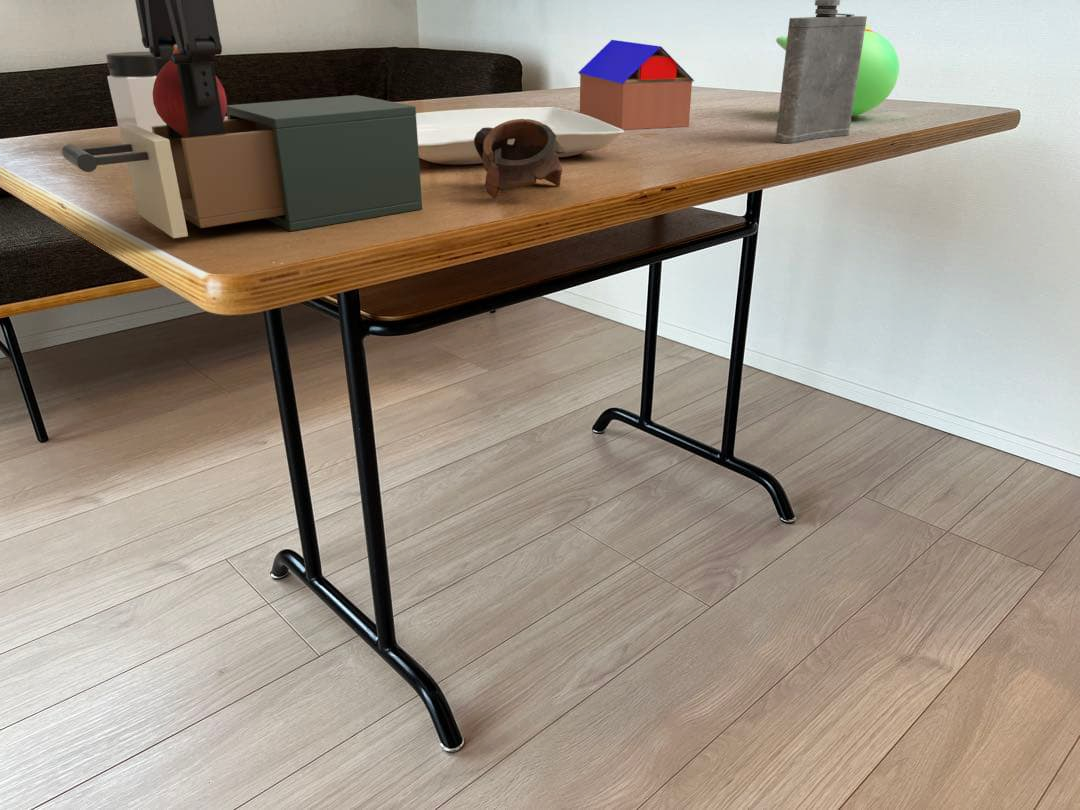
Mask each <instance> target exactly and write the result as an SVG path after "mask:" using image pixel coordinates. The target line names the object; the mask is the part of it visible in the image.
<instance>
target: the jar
mask: <svg viewBox="0 0 1080 810" xmlns="http://www.w3.org/2000/svg"><path fill="white" fill-rule="evenodd" d="M154 59H157V57H152V55H151V53H150V51H125V52H112V53H111V52H110V53H107V54H106V61H107V62H106V65H107V68H108V70H109V75H107V83H108V87H109V91H110V96H111V100H112V101H111V102H112V104H113V109H114V110H113V111H114V113H115V118H116V123H117V127H118V132H119V137H120V141H121V145H122V144H123V142H122V138H121V133H120V129H119V126H121V125H135V126H137V127H140V128H142V129H145V130H147V131H149V132H152V126H161V125H166V123H165V122H164V121H163V120H162V119H161V117H160V116H159V115H158V114H157V111H156V109H155V106H154V103H153V87H154V82H155V80H156V77H157V74H156V68H155V63H154ZM152 133H153V132H152Z"/></svg>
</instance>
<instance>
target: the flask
mask: <svg viewBox="0 0 1080 810" xmlns="http://www.w3.org/2000/svg"><path fill="white" fill-rule="evenodd" d="M840 4H841V0H815V1H814V6H816V8H815V11H814V14H815V16H805V17H789V21H788V30H787V36H786V37H787V45H786V51H785V54H784V64H783V70H784V71H782V82H781V90H780V98H779V107H778V114H777V115H778V116H777V124H776V133H775V140H774V141H775V142H776V143H779V144H795V143H799V142H805V141H810V140H816V139H823V138H825V139H826V138H833V137H843V136H845V137H846V136H849V135H850V130H851V123H852V117H853V116H852V111H853V104H854V98H855V91H856V85H857V78H858V72H859V65H860V58H861V52H862V45H863V39H864V32H865V26H866V25H867V19H868V16H867V15H865V16H864V15H855V14H853V13H838V11H839V10H838V6H840Z"/></svg>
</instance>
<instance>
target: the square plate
mask: <svg viewBox="0 0 1080 810" xmlns="http://www.w3.org/2000/svg"><path fill="white" fill-rule="evenodd" d="M515 119H525V120H526V119H530V120H535V121H538V122H541V123H542V124H545V125H547V126H548V127H549V128H550V129H551V130H552V131H553V132H554V133H555V135H556V138H555V139H556V141H557V142H559V143H560V145H561V146H562V147H563V148H564V150H565V153H561V154H557V153H556V155H557V157H558V158H567V157H573V156H577V155H580V154H582V153H583V152H590V151H597V150H600V149H604V148H606V147H608V146H609V145H611V144H612V143H614V142H615V141H616V140H618V138H619V137H620V136H622V134H624V133H625V130H622V129H620V128H617V127H615V126H612V125H610V124H608V123H605V122H603V121H600V120H598V119H596V118H593V117H590V116H587V115H584V114H581V113H580V112H577V111H573V110H569V109H565V108H561V107H557V106H539V107H538V106H536V107H535V106H534V107H533V106H532V107H487V108H485V107H483V108H482V107H481V108H464V109H449V110H448V109H447V110H438V111H426V112H425V111H424V112H416V122H417V137H418V152H419V159H421V160H423V161H426V162H428V163H429V162H430V163H433V164H438V165H448V166H449V165H451V166H452V165H453V166H461V165H462V166H463V165H465V166H466V165H478V164H483V160H482V159H481V157H480V156H479V154H478V152H477V150H476V148H475V144H474V138H475V135H476V133H477V132H479V131H480V130H481V129H482V128H487V127H489V128H494V127H496V126H498V125H500V124H502V123H504V122H507V121H510V120H515ZM514 141H515V139H508V142H507V144H512V145H513V144H514Z"/></svg>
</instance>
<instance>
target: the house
mask: <svg viewBox="0 0 1080 810" xmlns="http://www.w3.org/2000/svg"><path fill="white" fill-rule="evenodd" d="M577 73H578V74H579V113H581V114H584V115H587V116H590V117H593V118H596V119H598V120H600V121H603V122H605V123H608V124H610V125H612V126H615V127H617V128H620V129H622V130H624V131H626V130H627V131H628V130H643V129H644V130H645V129H662V128H663V129H664V128H681V127H682V128H683V127H684V128H685V127H689V126H690V114H691V104H692V103H691V101H692V88H693V83H694V82H695V80H694V78H693V77H692V76H691V75H690V74H688V72H687V71H686V70H685V69H684V68H683V67H682V66H681V65H680V64H679V63H678V62H677V61H676V60H675V59H674V58H673V56H671V55H670V54H669V52H667V51H666V50H665V48H663V46H660V45H653V44H646V43H639V42H631V41H626V40H625V41H623V40H617V39H611V40H609V42H608V43H606V45H604V47H603V48H601V49H600V51H599V52H597V54H595V55H594V56H593V57H592V58H591V59H590V60H589V61H588V62H587V63H586V64H585V65H584V66H583V67H582V68H581V69H580V70H579V71H578V72H577Z"/></svg>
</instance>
